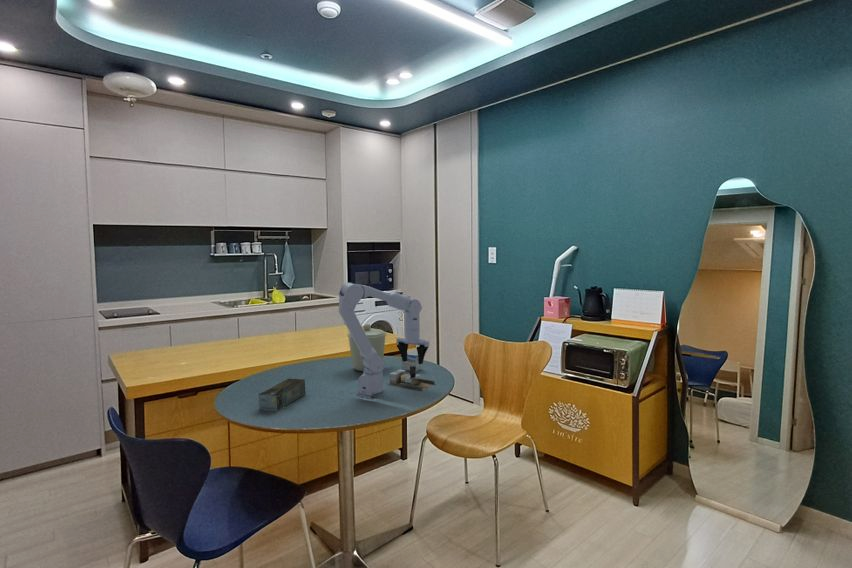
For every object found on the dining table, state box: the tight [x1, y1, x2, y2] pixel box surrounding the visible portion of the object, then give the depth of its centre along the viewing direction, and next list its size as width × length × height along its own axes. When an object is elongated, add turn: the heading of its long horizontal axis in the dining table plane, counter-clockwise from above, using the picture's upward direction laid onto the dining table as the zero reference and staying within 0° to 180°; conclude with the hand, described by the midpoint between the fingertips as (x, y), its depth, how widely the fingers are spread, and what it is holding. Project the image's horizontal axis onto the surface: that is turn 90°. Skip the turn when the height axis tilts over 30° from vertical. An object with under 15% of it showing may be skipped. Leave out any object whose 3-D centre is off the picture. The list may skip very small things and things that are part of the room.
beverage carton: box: [258, 378, 306, 412], centre depth 166 cm, size 8×19×7 cm, turn 164°
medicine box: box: [401, 351, 422, 373], centre depth 202 cm, size 8×4×9 cm, turn 62°
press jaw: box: [405, 366, 422, 385], centre depth 180 cm, size 7×3×7 cm, turn 148°
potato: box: [401, 373, 410, 384], centre depth 182 cm, size 4×4×3 cm
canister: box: [347, 323, 388, 372], centre depth 209 cm, size 18×18×21 cm
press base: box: [385, 368, 436, 392], centre depth 181 cm, size 10×18×6 cm, turn 58°
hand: (412, 362), depth 180 cm, fingers open, 7 cm apart
